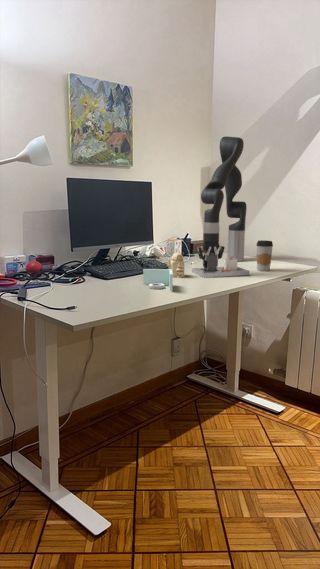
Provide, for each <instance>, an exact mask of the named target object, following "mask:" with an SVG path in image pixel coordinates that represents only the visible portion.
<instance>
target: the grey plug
mask: <svg viewBox="0 0 320 569" xmlns="http://www.w3.org/2000/svg"><path fill="white" fill-rule="evenodd" d="M217 267H218V266H217V255H213V254H212V253H210V254H209V256H207V268H204V267H203V268H204V269H206V270H217Z"/></svg>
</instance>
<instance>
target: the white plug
mask: <svg viewBox="0 0 320 569" xmlns="http://www.w3.org/2000/svg"><path fill="white" fill-rule="evenodd" d="M223 261H224V266H223V267H224V269H228V270H237V267H238V261H237V259H235V258H233V256H229V258H227V257H226V258H224V260H223Z"/></svg>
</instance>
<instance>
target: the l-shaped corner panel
mask: <svg viewBox="0 0 320 569" xmlns="http://www.w3.org/2000/svg"><path fill="white" fill-rule="evenodd" d="M142 271H143V272H142V274H143V275H142V277H143V279H142V284H143V286H148V289H152V290H162V289H165V288H166V286H165V285H169V287H168V288H170V289H169V292H170V291H172V292H173V284H174V283H173V279H174V277H173V274H172V269H168V268H166V269H165V268H164V269H163V268H159V269H158V268H143V270H142Z"/></svg>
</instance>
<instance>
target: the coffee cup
mask: <svg viewBox="0 0 320 569" xmlns="http://www.w3.org/2000/svg"><path fill="white" fill-rule="evenodd" d="M273 246H274V243H273V241H272V240H263V239H262V240H257V242H256V269H257V271H259V272H269V271H270V269H271V263H272V257H273V256H272V255H273V254H272V253H273Z"/></svg>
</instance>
